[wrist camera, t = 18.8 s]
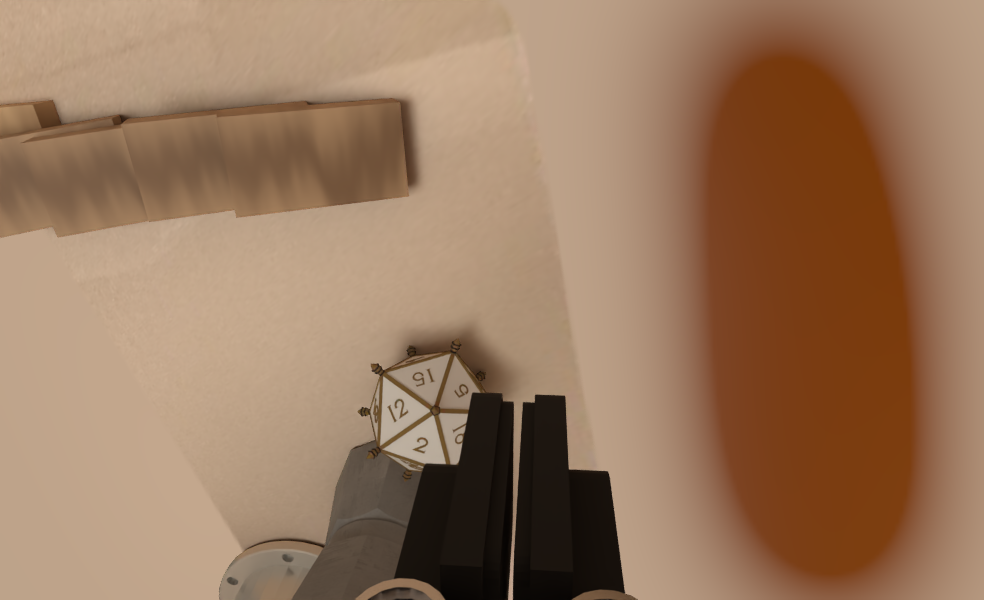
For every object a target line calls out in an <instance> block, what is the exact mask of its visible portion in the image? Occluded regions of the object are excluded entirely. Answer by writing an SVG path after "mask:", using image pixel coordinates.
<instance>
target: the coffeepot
mask: <svg viewBox="0 0 984 600" xmlns="http://www.w3.org/2000/svg"><path fill="white" fill-rule="evenodd" d="M376 447H377V445H376V441H375V440H374V441H372V442H369V443H367V444H364V445H363V446H361V447H358V448H355V449H352V450H351V451H350V454H349V456H348V458H347V461H346V463H345V466H344V468H343V471H342V473H341V476H340V478H339V481H338V483H337V486H336V490H335V496H334V501H333V506H332V512H331V517H330V523H329V528H328V533H327V539H326V544H325V546H324V548H323V549H322V551H321V553H320V554H319V556H318V557H317V559H316V561H315V562H314V564H313V565H312V567H311V569H310V570H309V572H308V573H307V575H306V577H305V578H304V580H303V582H302V583H301V585H300V586H299V588H298V590H297V591H296V593H295V594H294V596H293V598H292V599H291V600H355V599H356V598H357V597H358V596H359V595H361V594H362V593H363V592H364V591H365V590H367V589H368V588H370V587H372V586H374V585H376V584H378V583H381V582H383V581H388V580H393V579H394V576H395V572H396V568H397V564H398V561H399V557H400V553H401V549H402V545H403V542H404V538H405V534H406V530H407V527H408V523H409V519H410V515H411V511H412V508H413V504H414V500H415V496H416V492H417V489H418V485H419V481H420V477H421V473H422V472H415V471H412V472H411V473H412V476H411V479H409V480H407V481H406V482H404V478H403V477H402V475H403V474H404V472H405V471H406V469H405V468H404V467H402V466H401V465H399V464H398V463H396V462H395V461H393V460H392V459H390V458H389V457H387V456H386V455H384V454H382V453H381V452H380V453H379V454H378V456H377V457H375V459H366V458H367V455H368V451H371V450H372V448H374V449H375V448H376Z"/></svg>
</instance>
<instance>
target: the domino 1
mask: <svg viewBox="0 0 984 600" xmlns="http://www.w3.org/2000/svg"><path fill="white" fill-rule="evenodd" d="M59 125H61V122H60V119H59V116H58V113H57V111H56V108H55V105H54V102H53V100H52V101H41V102H30V103H19V104H8V105H0V136H4V135H10V134H15V133H21V132H26V131H32V130H37V129H43V128H48V127H54V126H59Z"/></svg>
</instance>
